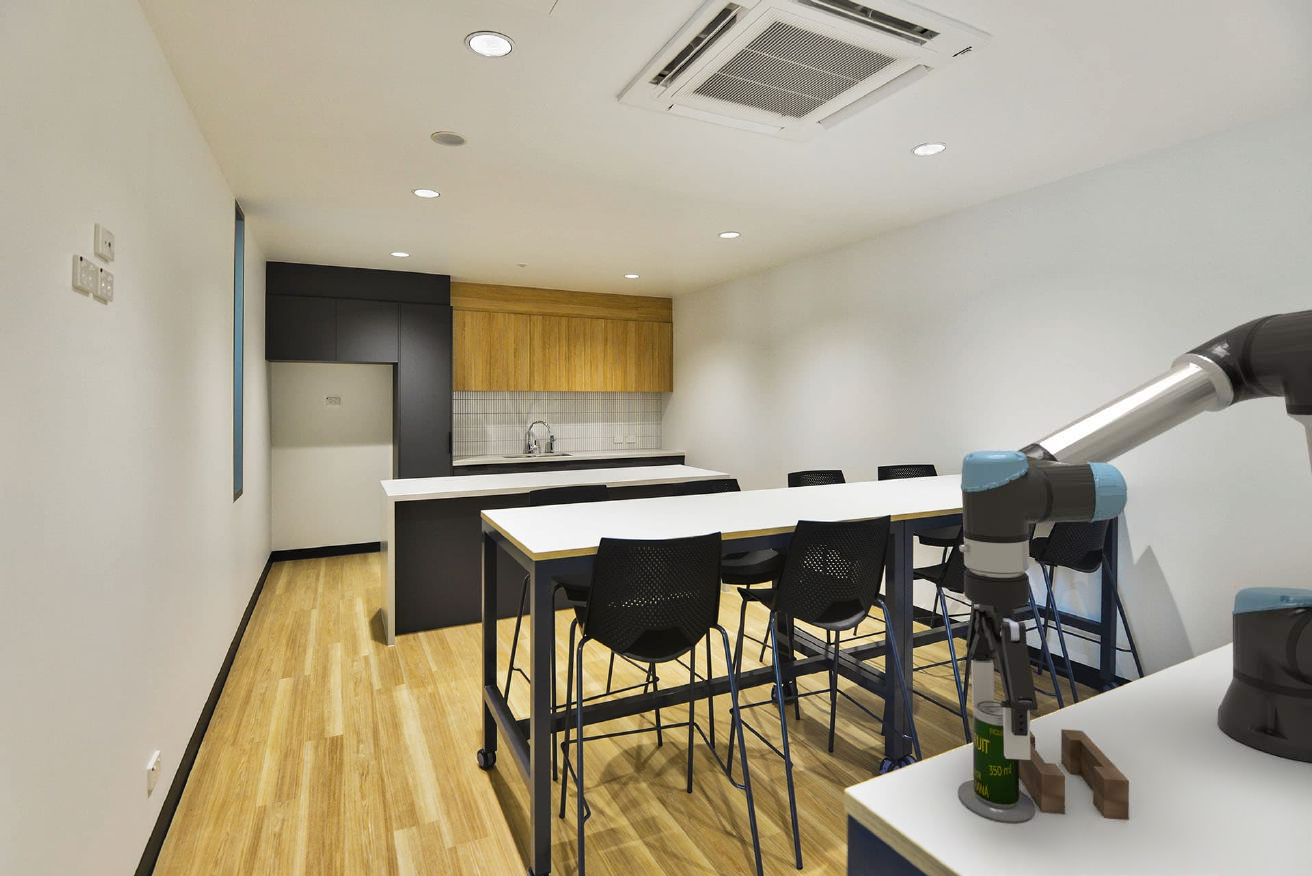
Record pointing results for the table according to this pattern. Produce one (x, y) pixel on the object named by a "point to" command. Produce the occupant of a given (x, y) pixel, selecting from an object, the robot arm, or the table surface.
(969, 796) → the coaster
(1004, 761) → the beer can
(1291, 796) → the table surface
